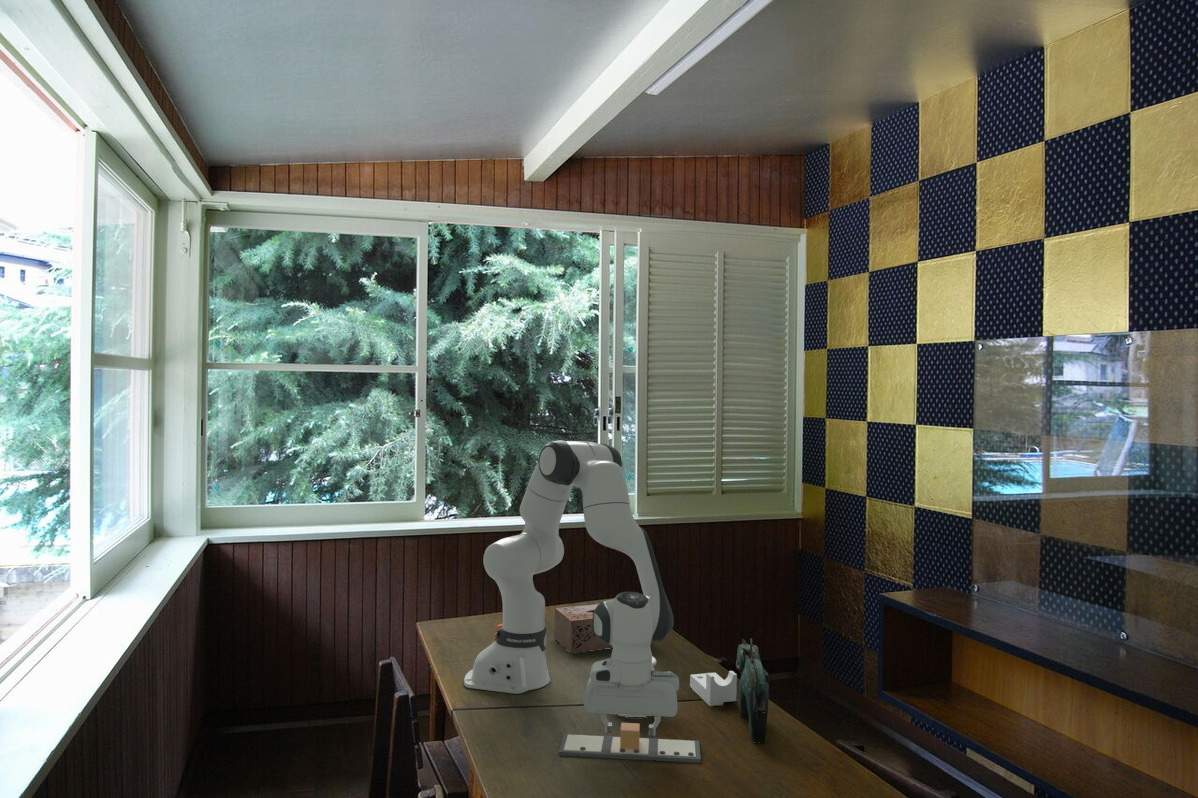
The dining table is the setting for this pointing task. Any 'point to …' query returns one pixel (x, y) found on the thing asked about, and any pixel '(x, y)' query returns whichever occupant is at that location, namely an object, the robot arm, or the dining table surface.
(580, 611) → the tissue box cover
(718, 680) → the bracket
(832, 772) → the dining table surface
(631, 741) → the block
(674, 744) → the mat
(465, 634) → the dining table surface
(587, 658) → the dining table surface
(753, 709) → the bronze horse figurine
